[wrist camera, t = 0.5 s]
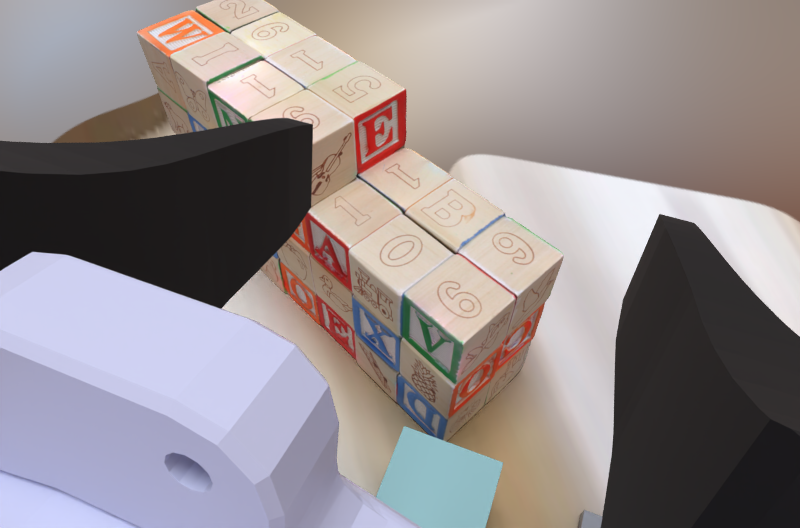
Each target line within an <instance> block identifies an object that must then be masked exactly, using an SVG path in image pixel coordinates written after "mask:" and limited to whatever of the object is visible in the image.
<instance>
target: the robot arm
mask: <svg viewBox="0 0 800 528" xmlns="http://www.w3.org/2000/svg"><path fill="white" fill-rule="evenodd" d="M312 148H313V124H309V123H305V122H302V121H298V120H294V119H290V118H273V119H265V120H258V121H252V122H246V123H240V124H235V125H230V126H224V127H219V128H213V129H208V130H203V131H196V132H190V133H183V134H177V135H171V136H164V137H158V138H149V139H140V140H129V141H115V142H99V143H30V142H9V141H0V528H422V527H420V526H418V525H417V524H415V523H414V522H412V521H411V520H409V519H408V518H406V517H405V516H403V515H402V514H400V513H399V512H397V511H396V510H394V509H393V508H391V507H390V506H388V505H387V504H385V503H384V502H382V501H380V500H379V499H377V498H376V497H374V496H373V495H371V494H370V493H368V492H367V491H365V490H364V489H362V488H361V487H359V486H358V485H356V484H355V483H353V482H352V481H350V480H349V479H347V478H346V477H344V476H342V475H340V473H339V471H338V466H337V444H338V430H339V421H338V418H337V414H336V410H335V406H334V403H333V399H332V395H331V391H330V388H329V385H328V383H327V381H326V379H325V378H324V377H323V376H322V374H321V373H320V372H319V371H318V370H317V369H316V367H315V366H314V365H313V364H312V363H311V361H310V360H309V359H308V358H307V357H306V356H305V354H304V353H303V352H302V351H301V350H300V349H299V347H298V346H297V345H296V344H294V343H293V342H291V341H289V340H287V339H286V338H284V337H282V336H281V335H279V334H277V333H275V332H274V331H272V330H270V329H268V328H267V327H265V326H263V325H261V324H260V323H258V322H256V321H254V320H251V319H248V318H245V317H243V316H240V315H237V314H234V313H231V312H228V311H226V310H223V309H221V308H222V307H223V306H224V305H225V304H226V303H227V302H228V300H229V299H230V298H231V297H232V296H233V295H234V294H235V293H236V292H237V291H238V290H239V289H240V288H241V287H242V286H243V285H244V284H245V283H246V282H247V281H248V280H249V279H250V278H251V277H252V276H253V275H254V274H255V273H256V272H257V271H258V270H259V269H260V268H261V267H262V266H263V265H264V264H265V263H266V262H267V261H268V260H269V259H270V258H271V257H272V256H273V255H274V254H275V253H276V252H277V251H278V250H279V249H280V248H281V247H282V246H283V245H284V244H285V243H286V242H287V240H288V239H289V238H290V237H291V236H292V234H293V233H294V232H295V230H296V229H297V228H298V226H299V225H300V223H301V222H302V220H303V219H304V217H305V216H306V214H307V213H308V211H309V210H310V208H311V196H312ZM601 528H800V337H799V336H798V335H797V334H796V333H795V332H793V331H792V330H791V329H790V328H789V327H788V326H787V325H786V324H785V323H783V322H782V321H781V320H780V319H779V318H778V317H777V316H776V315H775V314H774V313H773V312H772V311H771V310H770V309H769V308H768V307H767V306H766V305H765V304H764V303H763V302H762V301H761V300H760V299H759V298H758V297H757V296H756V295H755V293H754V292H753V291H752V290H751V289H750V288H749V287H748V286H747V285H746V284H745V282H744V281H743V280H742V279H741V278H740V277H739V276H738V274H737V273H736V272H735V271H734V270H733V268H732V267H731V266H730V265H729V264H728V262H727V261H726V260H725V259H724V258H723V256H722V255H721V254H720V253H719V251H718V250H717V249H716V248H715V247H714V245H713V244H712V243H711V242H710V240H709V239H708V238H707V237H706V235H705V234H704V233H703V232H702V231H701V230H700V229H699V227H698V226H697V225H696V224H694V223H692V222H688V221H684V220H680V219H677V218H673V217H669V216H665V215H661V214H659V217H658V219H657V221H656V224H655V226H654V228H653V231H652V233H651V235H650V238H649V240H648V242H647V245H646V247H645V250H644V252H643V254H642V257H641V259H640V261H639V264H638V266H637V268H636V271H635V273H634V275H633V278H632V280H631V282H630V285H629V287H628V289H627V292H626V294H625V296H624V299H623V303H622V309H621V314H620V319H619V325H618V331H617V337H616V351H615V390H614V434H613V447H612V457H611V464H610V471H609V478H608V485H607V491H606V498H605V504H604V510H603V517H602V523H601Z"/></svg>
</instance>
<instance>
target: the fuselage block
mask: <svg viewBox="0 0 800 528" xmlns="http://www.w3.org/2000/svg"><path fill="white" fill-rule="evenodd" d="M502 465H503V462H500V461H497V460H495V459H492V458H489V457H486V456H484V455H481V454H478V453H476V452H473V451H470V450H468V449H465V448H462V447H459V446H457V445H454V444H451V443H449V442H446V441H443V440H441V439H438V438H435V437H432V436H430V435H427V434H424V433H422V432H419V431H416V430H414V429H411V428H408V427H405V426H404V428H403V430H402V433H401V435H400V438H399V440H398V443H397V445H396V448H395V450H394V453H393V455H392V458H391V460H390V463H389V465H388V468H387V471H386V473H385V476H384V478H383V481H382V483H381V486H380V488H379V491H378V493H377V496H376V498H377V499H379V500H380V501H382V502H384V503H385V504H387V505H388V506H390V507H391V508H393V509H394V510H396V511H397V512H399V513H400V514H402V515H403V516H405V517H406V518H408V519H409V520H411V521H412V522H414V523H415V524H417V525H418V526H420V527H422V528H485V527H486V524H487V520H488V517H489V513H490V509H491V506H492V502H493V498H494V495H495V491H496V487H497V484H498V480H499V476H500V473H501V469H502Z"/></svg>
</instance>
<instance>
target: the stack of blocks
mask: <svg viewBox="0 0 800 528" xmlns="http://www.w3.org/2000/svg"><path fill="white" fill-rule="evenodd" d="M137 36H138V38H139V41H140V44H141V46H142V49H143V51H144V54H145V57H146V59H147V62H148V64H149V67H150V69H151V72H152V74H153V77H154V79H155V82H156V84H157V89H158V92H159V95H160V97H161V100H162V103H163V106H164V108H165V111H166V113H167V116H168V119H169V122H170V125H171V127H172V130H173V131H174V132H175V133H176V135H177V134H183V133H190V132H196V131H203V130H208V129H213V128H219V127H224V126H230V125H235V124H240V123H246V122H252V121H258V120H265V119H273V118H290V119H294V120H298V121H302V122H305V123H309V124H313V148H312V196H311V208H310V210H309V211H308V213H307V214H306V216H305V217H304V219H303V220H302V222H301V223H300V225H299V226H298V228H297V229H296V230H295V232H294V233H293V234H292V236H291V237H290V238H289V239H288V240H287V242H286V243H285V244H284V245H283V246H282V247H281V248H280V249H279V250H278V251H277V252H276V253H275V254H274V255H273V256H272V257H271V258H270V259H269V260H268V261H267V262H266V263H265V264H264V265H263V266H262V267H261V268H260V269H261V270H262V271H263V272H264V273H265V274H266V275H267V276H268V277H269V278H270V279H271V280H272V281H273V282H274V283H275V284H276V285H277V286H278V287H279V288H280V289H281V290H282V291H283V292H284V293H287V294H289V295H290V296H291V297H292V299H293V300H294V301H296V302H297V303H298V304H299V305H300V306H301V307H302V308H303V309H304V310H305V311H306V312H307V313H308V314H309V315H310V316H311V317H312V318H313V319H314V320H315V321H316V322H317V323H318V324H319V325H321V326H323V327H324V329H325V330H326V331H327V332H328V333H329V334H330V335H331V336H332V337H333V338H334V339H335V340H336V341H337V342H338V343H339V344H340V345H341V346H343V347H344V348H345V350H346V351H347V352H348V353H350V354H351V355H352V357H353V358H355V359H356V360H357V364H358V365H359V366H360V367H361V368H362V369H363V370H364V371H365V372H366V373H367V374H368V375H369V376H370V377H371V378H372V379H373V380H374V381H375V382H376V383H377V384H378V385H379V386H380V387H381V388H382V389H383V390H384V391H385V392H386V393H387V394H388V395H389V396H390V397H391V398H392V399H393V400H394V401H396V402H397V403H398V404H399V405H400V406H401V407H402V408H403V409H404V410H405V411H406V412H407V413H408V414H409V415H410V416H411V417H412V418H413V419H414V420H415V421H416V422H417V423H418V424H419V425H420V426H421V427H422V428H423V429H424V430H425V431H426V432H427V433H428V434H429V435H430V436H432V437H435V438H438V439H441V440H443V441H446V442H447V441H448V440H449V439H450V438H451V437H452V436H453V435H454V434H455V433H456V432H457V431H458V430H459V429H460V428H461V427H462V426H463V425H464V424H465V423H466V422H467V421H468V420H470V419H471V418H472V417H473V416H474V415H475V414H476V413H477V412H478V411H479V410H480V409H481V408H482V407H483V406H484V405H485V404H487V403H488V402H489V401H490V400H491V399H492V398H493V397H494V396H495V395H497V394H498V393H499V392H500V391H501V390H502V389H503V388H504V387H505V386H506V385H507V384H508V383H509V382H510V381H511V380H512V379H513V378H514V377H515V376H516V374H517V373H518V372H519V371H520V370H521V368H522V366H523V364H524V361H525V359H526V355H527V353H528V349H529V346H530V343H531V340H532V339H533V337H534V336H535V332H536V329H537V326H538V323H539V320H540V318H541V315H542V312H543V308H544V304H545V302H546V300H547V299H548V297H549V296H550V294H551V291H552V288H553V285H554V282H555V280H556V277H557V274H558V272H559V269H560V266H561V264H562V261H563V257H564V254H563V253H562V252H561V251H560V250H558V249H557V248H555V247H553V246H552V245H550V244H549V243H547V242H546V241H544V240H543V239H541V238H540V237H538V236H537V235H535V234H534V233H532V232H531V231H530V230H528V229H527V228H525V227H524V226H522V225H521V224H519V223H517V222H516V221H515V220H513V219H512V218H509V217H506V216H505V213H504V212H503V211H502V210H501V209H499V208H498V207H496V206H495V205H493V204H492V203H490V202H489V201H488V200H486V199H485V198H483V197H482V196H480V195H479V194H477V193H476V192H474V191H473V190H471V189H470V188H468V187H467V186H465V185H464V184H463V183H461V182H460V181H458V180H456V179H453V178H452V176H451V175H450V174H448V173H447V172H446V171H444V170H443V169H441V168H439V167H438V166H437V165H435V164H434V163H432V162H430V161H429V160H427V159H426V158H424V157H423V156H421V155H420V154H418V153H417V152H415V151H413V150H410V149H408V148H404V145H405V141H406V89H405V88H403V87H402V86H400V85H399V84H397V83H395V82H394V81H392V80H391V79H389V78H387V77H386V76H384V75H382V74H381V73H379V72H378V71H376V70H374V69H373V68H371V67H369V66H368V65H366V64H364V63H363V62H359V61H357V60H356V59H355V58H353V57H352V56H350V55H349V54H347V53H346V52H344V51H342V50H341V49H339V48H337V47H335V46H334V45H332V44H331V43H329V42H328V41H326V40H324V39H322V38H321V37H318V36H317V35H316V34H315V33H314V32H312V31H311V30H309V29H307V28H305V27H304V26H302V25H301V24H299V23H298V22H296V21H294V20H292V19H291V18H289V17H288V16H286V15H284V14H283V13H280V12H279V11H278V9H276V8H275V7H274V6H272V5H271V4H269V3H267V2H266V1H264V0H214V1H212V2H209V3H207V4H203V5H200V6H198V7H196V11H194V10H190V11H186V12H183V13H181V14H179V15H176V16H174V17H171V18H168V19H166V20H164V21H161V22H159V23H156V24H154V25H151V26H149V27H146V28H144V29H141V30H139V31H138V32H137Z"/></svg>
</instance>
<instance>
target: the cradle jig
mask: <svg viewBox="0 0 800 528" xmlns="http://www.w3.org/2000/svg"><path fill="white" fill-rule="evenodd" d="M601 523H602V516H599V515H596V514H594V513H591V512H588V511H586V510H584V511H583V512H582V513H581V515H580V521H579V527H578V528H601Z"/></svg>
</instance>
